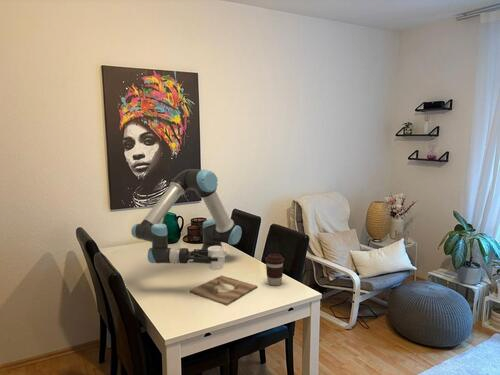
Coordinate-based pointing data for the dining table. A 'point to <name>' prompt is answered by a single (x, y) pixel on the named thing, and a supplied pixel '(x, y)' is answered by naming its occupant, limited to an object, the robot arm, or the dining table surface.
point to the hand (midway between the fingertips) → (225, 256)
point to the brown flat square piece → (223, 289)
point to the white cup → (216, 252)
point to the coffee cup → (274, 269)
